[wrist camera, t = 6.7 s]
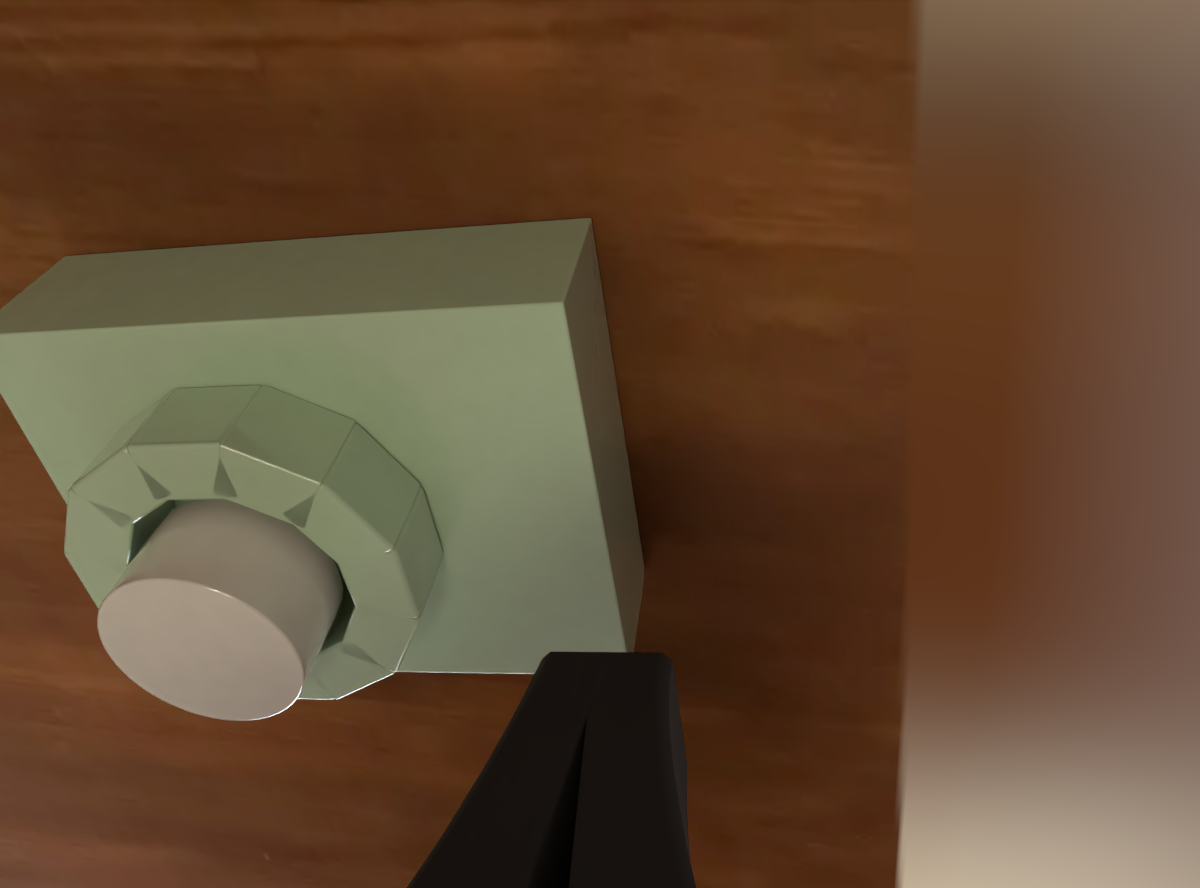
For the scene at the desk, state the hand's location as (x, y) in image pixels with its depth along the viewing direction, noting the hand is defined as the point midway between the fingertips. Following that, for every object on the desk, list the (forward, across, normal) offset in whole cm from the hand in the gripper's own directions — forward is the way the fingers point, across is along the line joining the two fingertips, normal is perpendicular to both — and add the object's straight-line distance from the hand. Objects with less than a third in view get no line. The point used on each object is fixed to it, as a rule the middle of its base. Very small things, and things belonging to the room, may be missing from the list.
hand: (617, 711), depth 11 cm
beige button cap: (+5, +8, +3) cm, 10 cm away
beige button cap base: (+10, +7, +3) cm, 12 cm away
